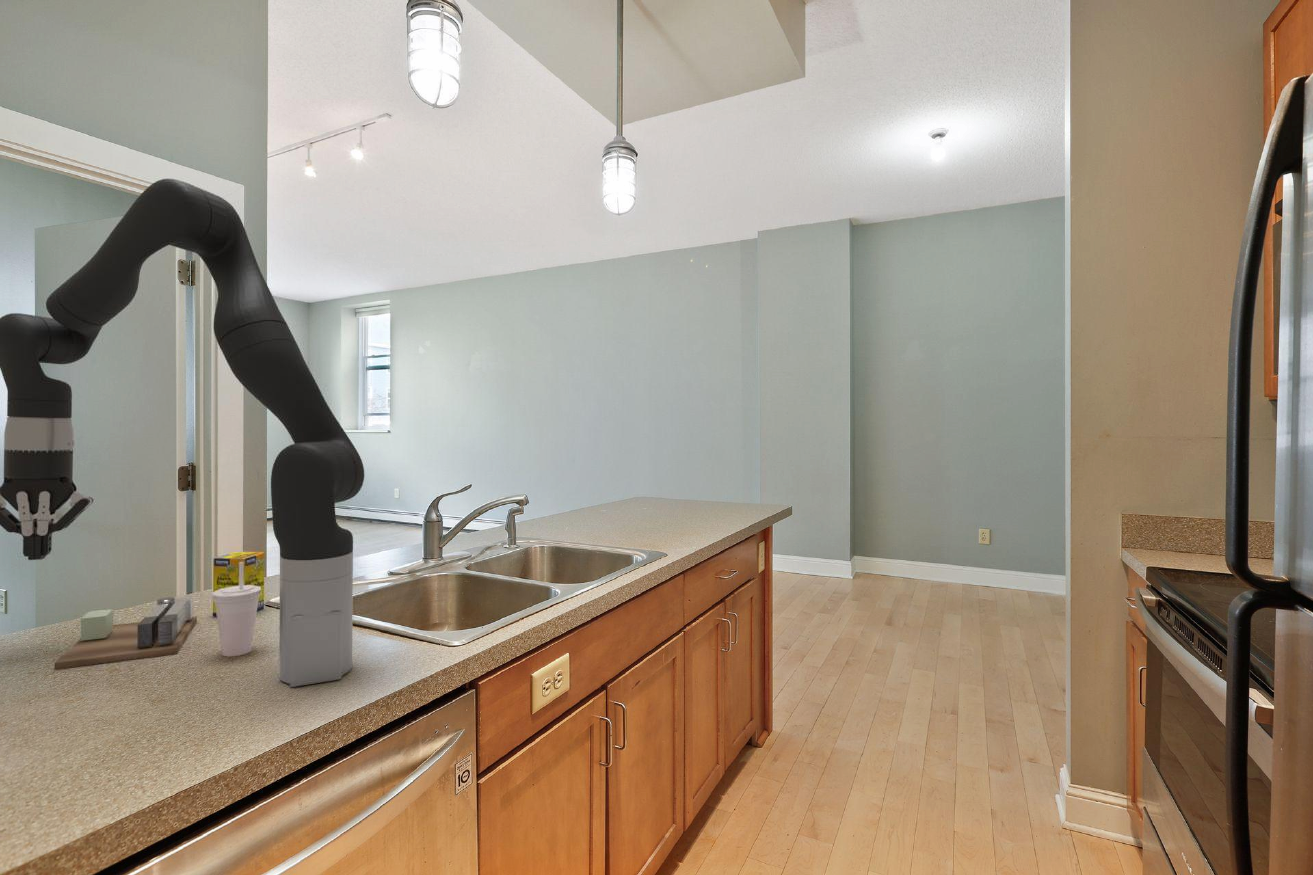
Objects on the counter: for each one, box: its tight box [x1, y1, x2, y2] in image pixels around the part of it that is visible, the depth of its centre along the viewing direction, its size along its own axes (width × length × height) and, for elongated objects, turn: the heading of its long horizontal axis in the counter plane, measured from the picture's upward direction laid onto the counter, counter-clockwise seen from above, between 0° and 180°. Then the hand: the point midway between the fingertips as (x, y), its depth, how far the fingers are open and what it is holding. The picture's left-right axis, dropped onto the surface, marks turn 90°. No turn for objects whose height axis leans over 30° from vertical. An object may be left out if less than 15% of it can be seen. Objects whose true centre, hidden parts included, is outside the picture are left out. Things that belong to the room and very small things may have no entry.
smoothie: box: [211, 562, 262, 658], centre depth 96 cm, size 6×6×14 cm
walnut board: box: [53, 615, 198, 671], centre depth 99 cm, size 17×14×1 cm
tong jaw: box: [138, 604, 169, 648], centre depth 99 cm, size 12×2×4 cm, turn 28°
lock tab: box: [80, 608, 114, 641], centre depth 99 cm, size 4×3×4 cm
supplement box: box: [212, 551, 266, 618], centre depth 115 cm, size 6×6×11 cm
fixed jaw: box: [156, 596, 194, 646], centre depth 101 cm, size 15×5×4 cm, turn 28°
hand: (37, 558), depth 95 cm, fingers closed
